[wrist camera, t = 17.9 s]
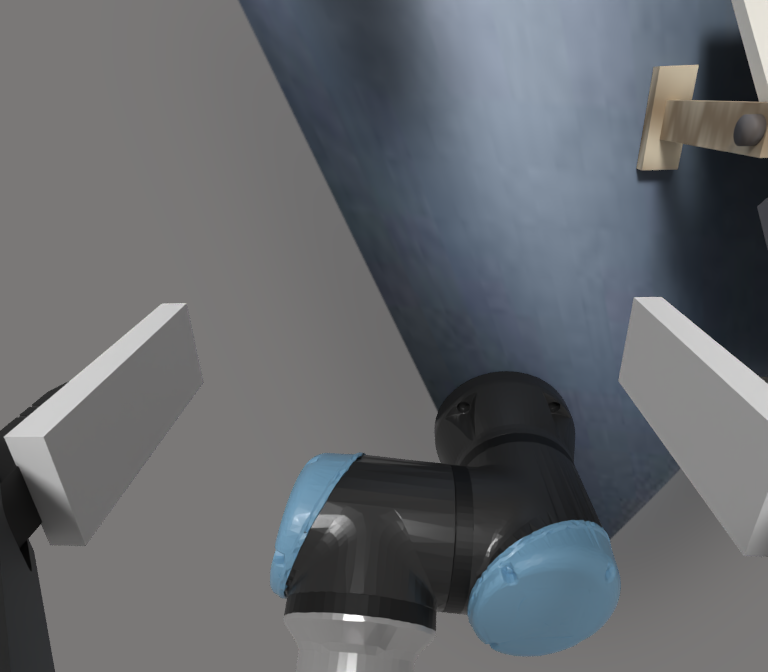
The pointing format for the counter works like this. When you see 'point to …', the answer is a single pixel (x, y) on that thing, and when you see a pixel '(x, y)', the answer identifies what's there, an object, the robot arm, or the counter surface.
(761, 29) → the trapdoor flap
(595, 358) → the counter surface
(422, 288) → the counter surface
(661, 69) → the flap stand
